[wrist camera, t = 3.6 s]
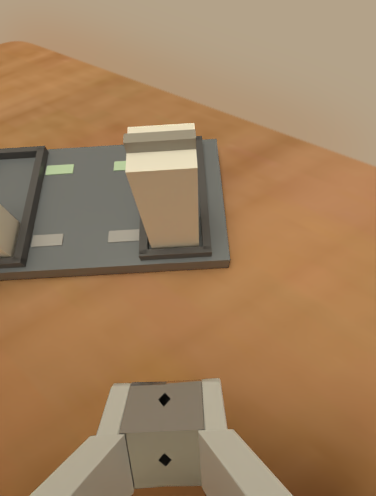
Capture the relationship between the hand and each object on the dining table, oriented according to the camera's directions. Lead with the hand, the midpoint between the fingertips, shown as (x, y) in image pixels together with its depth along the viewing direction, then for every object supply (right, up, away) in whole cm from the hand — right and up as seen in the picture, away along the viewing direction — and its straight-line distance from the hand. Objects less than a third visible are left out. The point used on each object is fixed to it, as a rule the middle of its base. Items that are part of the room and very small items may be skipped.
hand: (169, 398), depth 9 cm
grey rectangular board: (-7, +8, +18) cm, 21 cm away
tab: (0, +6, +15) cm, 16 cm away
